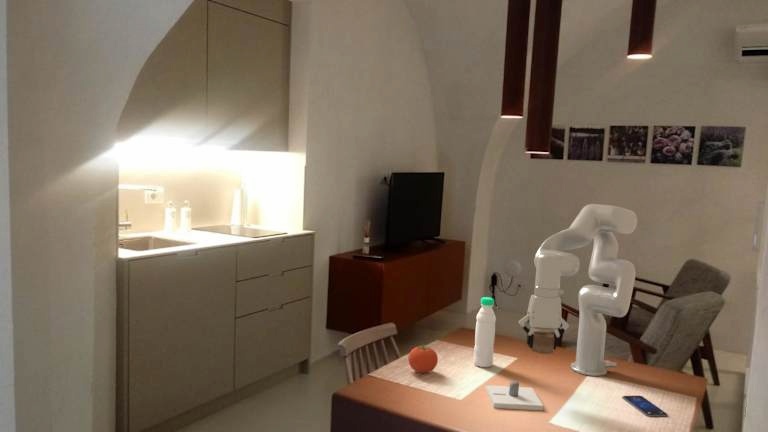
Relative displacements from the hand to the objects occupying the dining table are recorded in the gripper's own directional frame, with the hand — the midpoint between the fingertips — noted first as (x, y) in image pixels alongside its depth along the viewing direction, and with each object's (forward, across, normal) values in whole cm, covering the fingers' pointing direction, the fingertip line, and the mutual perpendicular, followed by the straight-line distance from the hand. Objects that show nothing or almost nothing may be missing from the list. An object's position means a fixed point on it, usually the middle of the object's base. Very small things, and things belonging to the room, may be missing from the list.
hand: (541, 347), depth 188 cm
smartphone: (+17, -33, +4) cm, 37 cm away
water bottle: (+16, +12, -28) cm, 35 cm away
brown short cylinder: (+1, 0, 0) cm, 1 cm away
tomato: (+17, +36, -17) cm, 43 cm away
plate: (+17, +8, +3) cm, 19 cm away
